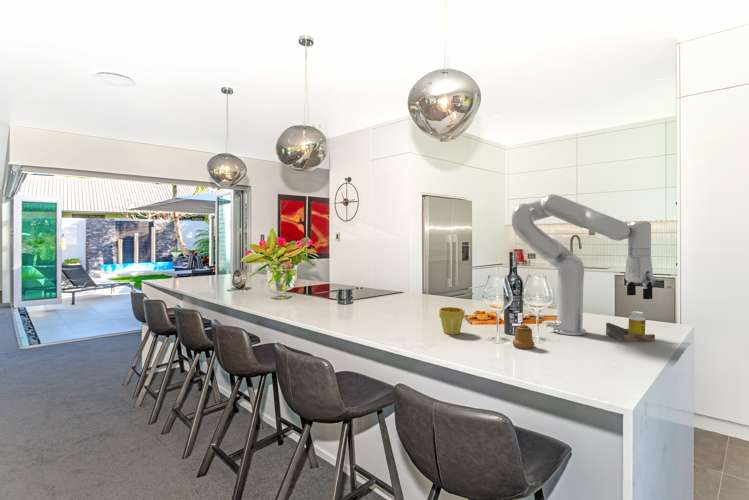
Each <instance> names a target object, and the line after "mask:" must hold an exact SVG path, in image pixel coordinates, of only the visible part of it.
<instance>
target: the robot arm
mask: <svg viewBox="0 0 749 500" xmlns="http://www.w3.org/2000/svg"><path fill="white" fill-rule="evenodd" d="M550 217H554V218H557V219H559V220H561V221H564V222H567V223H569V224H570V225H574V226H576V227H580V228H581V229H586V230H588V231H592V232H594V233H597V234H600V235H601V236H604V237H606V238H608V239H610V240H612V241H618V242H619V241H624V240H627V258H626V263H625V272H624V273H623V275H624V281H625V285H626V295H627V296H636V293H637V292H636V291H637V289H636V288H637V286H636V284H642V286H643V289H642V299H643V300H653V289H654V288H655V287H654V286H655V285H656V281H657V278H656V276H655V275H654V274H653V263H652V258H651V257H652V224H651V223H652V222H650V221H647V220H640V221H639V220H635V221H631V222H628V221H622V220H620V219H618V218H615V217H612V216H610V215H608V214H605V213H602V212H600V211H597V210H595V209H593V208H591V207H588V206H587V205H584V204H582V203H579V202H576V201H573V200H571V199H569V198H566V197H563V196H561V195H558V194H555V193H552V194H548V195H547V196H545V197H544V198H541V199H538V200H535V201H533V202H530V203H520V204H518V205H516V206H515V208H514V209H513V212H512V215H511V228H512V230H513V231H514V234H515V235H516V236H517V237H518V238H519V239H520V241H522V242H523V243H524V244H525V245H526V246H528V248H530V249H531V250H532V251H533V252H534V253H536V254H537V256H539V257H540V258H541V259H542V260H544V261H546V262H548V263H549V264H550V265H551V266H552V267H553V268H555V269H556V270H557V303H556V304H557V305H556V309H557V312H556V313H557V314H556V317H557V318H556V319H554V321H552V322H551V321H545V323H544V324H545V325H544V326H545V327H546V328H548V327H549V328H550V327H551V328H552V331H553V332H554V333H556V334H561V335H564V336H567V335H568V336H584V335H587V334H588V333H587V331H588V330H587V329H585V328H583V322H584V321H583V320H584V319H583V318H584V315H583V314H584V279H585V278H584V277H585V265H584V262H583V260H582V259H581V258H579V257H578V255H576V254H575V253H574V252H572V251H571V250H570V249H568V248H567V247H566V246H565V245H563V244H562V243H561V242H560V241H559V240H557V239H556V238H555V239H554V238H552V237H551V236H549V235H548V234H547V233H545V231H543V230H542V229H541V228H539V227H538V226H537V225H536V224H535V223H534V222H536V221H537V222H538V221H541V220H543V219H547V218H550Z"/></svg>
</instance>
